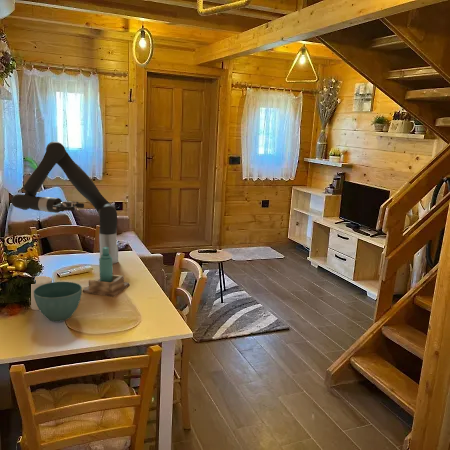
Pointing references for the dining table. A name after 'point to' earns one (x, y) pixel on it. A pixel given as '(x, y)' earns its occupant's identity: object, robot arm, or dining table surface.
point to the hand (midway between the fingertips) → (79, 207)
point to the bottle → (106, 266)
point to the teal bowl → (58, 299)
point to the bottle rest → (107, 286)
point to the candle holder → (39, 281)
